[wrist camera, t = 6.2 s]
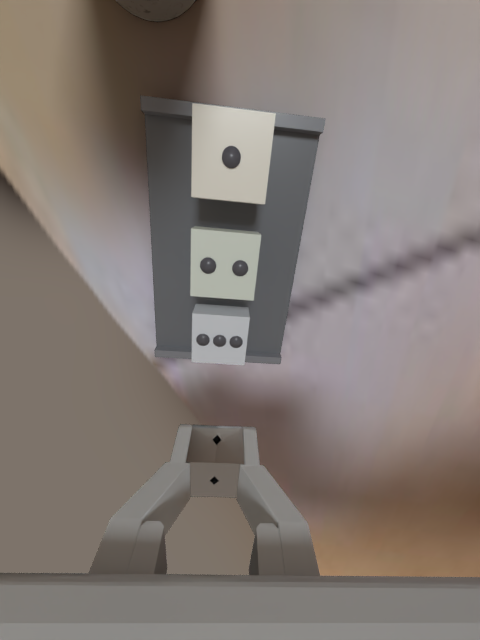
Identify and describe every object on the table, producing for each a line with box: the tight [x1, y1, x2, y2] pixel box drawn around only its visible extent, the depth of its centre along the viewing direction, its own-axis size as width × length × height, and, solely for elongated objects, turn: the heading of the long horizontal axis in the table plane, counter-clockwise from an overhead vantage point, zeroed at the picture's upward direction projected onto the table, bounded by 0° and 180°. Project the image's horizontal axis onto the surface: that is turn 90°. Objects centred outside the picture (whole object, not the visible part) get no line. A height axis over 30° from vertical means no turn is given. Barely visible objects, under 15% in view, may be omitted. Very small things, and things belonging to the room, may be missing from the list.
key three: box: [192, 304, 250, 365], centre depth 24 cm, size 5×5×2 cm
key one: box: [191, 103, 276, 205], centre depth 17 cm, size 5×5×2 cm
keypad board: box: [140, 95, 326, 364], centre depth 23 cm, size 13×21×2 cm, turn 175°
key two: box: [190, 226, 261, 301], centre depth 20 cm, size 5×5×2 cm
